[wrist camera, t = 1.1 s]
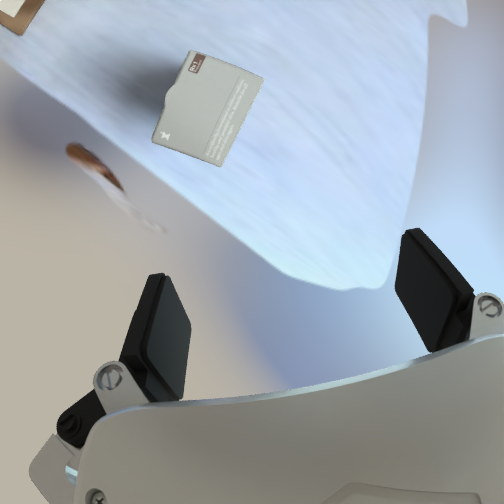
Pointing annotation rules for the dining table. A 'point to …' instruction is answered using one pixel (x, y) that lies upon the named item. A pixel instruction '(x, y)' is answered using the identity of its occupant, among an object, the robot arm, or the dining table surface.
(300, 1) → the dining table surface
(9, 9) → the pad
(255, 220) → the dining table surface
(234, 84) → the skincare box
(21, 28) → the board
